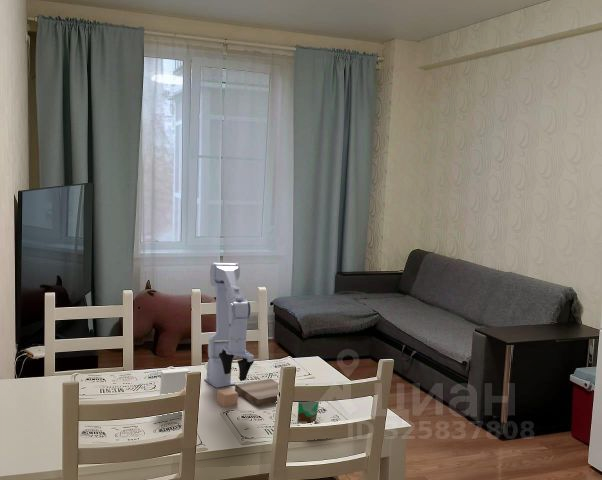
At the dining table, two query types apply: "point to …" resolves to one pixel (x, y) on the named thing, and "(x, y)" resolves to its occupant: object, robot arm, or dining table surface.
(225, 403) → the terracotta block
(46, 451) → the dining table surface
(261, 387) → the walnut base
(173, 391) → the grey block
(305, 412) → the food container
